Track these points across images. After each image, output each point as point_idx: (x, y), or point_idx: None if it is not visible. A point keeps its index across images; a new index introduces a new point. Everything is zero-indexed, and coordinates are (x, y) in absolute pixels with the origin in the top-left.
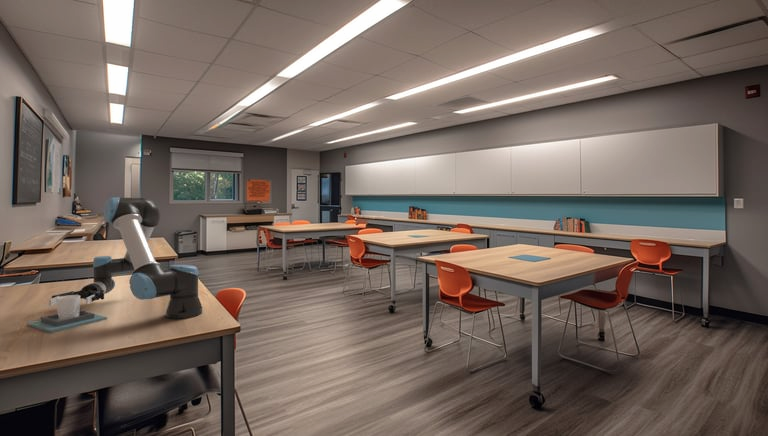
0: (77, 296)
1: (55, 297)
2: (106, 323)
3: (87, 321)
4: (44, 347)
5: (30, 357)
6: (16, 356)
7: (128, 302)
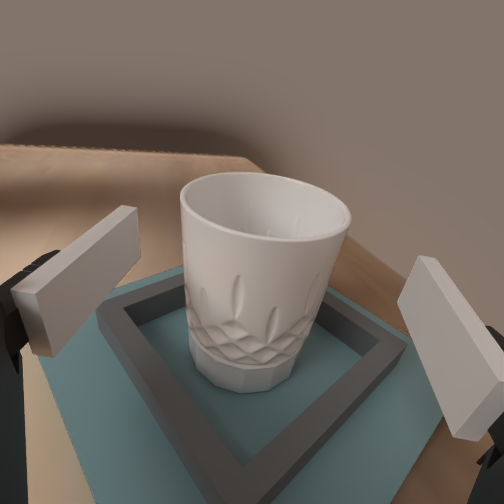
0: (212, 234)
1: (462, 312)
2: None
3: (139, 282)
4: None
5: (230, 168)
6: None
7: None
